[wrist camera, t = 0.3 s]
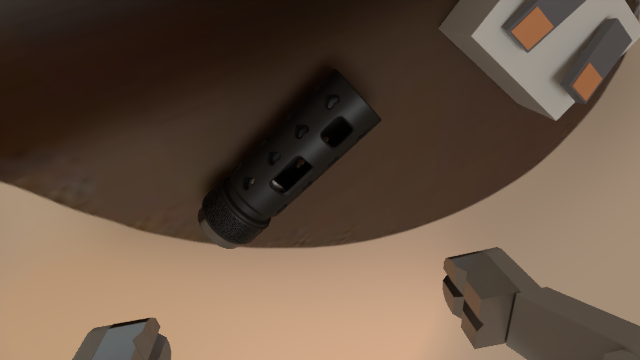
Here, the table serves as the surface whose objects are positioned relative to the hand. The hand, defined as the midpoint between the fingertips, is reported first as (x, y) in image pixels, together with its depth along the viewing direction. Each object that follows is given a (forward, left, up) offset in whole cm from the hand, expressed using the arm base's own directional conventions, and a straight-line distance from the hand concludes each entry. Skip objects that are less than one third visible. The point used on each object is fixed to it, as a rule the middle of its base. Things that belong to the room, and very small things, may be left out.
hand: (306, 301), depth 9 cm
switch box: (0, +33, -39) cm, 52 cm away
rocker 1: (-1, +32, -31) cm, 44 cm away
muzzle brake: (+14, -1, -40) cm, 42 cm away
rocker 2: (+7, +40, -31) cm, 51 cm away
